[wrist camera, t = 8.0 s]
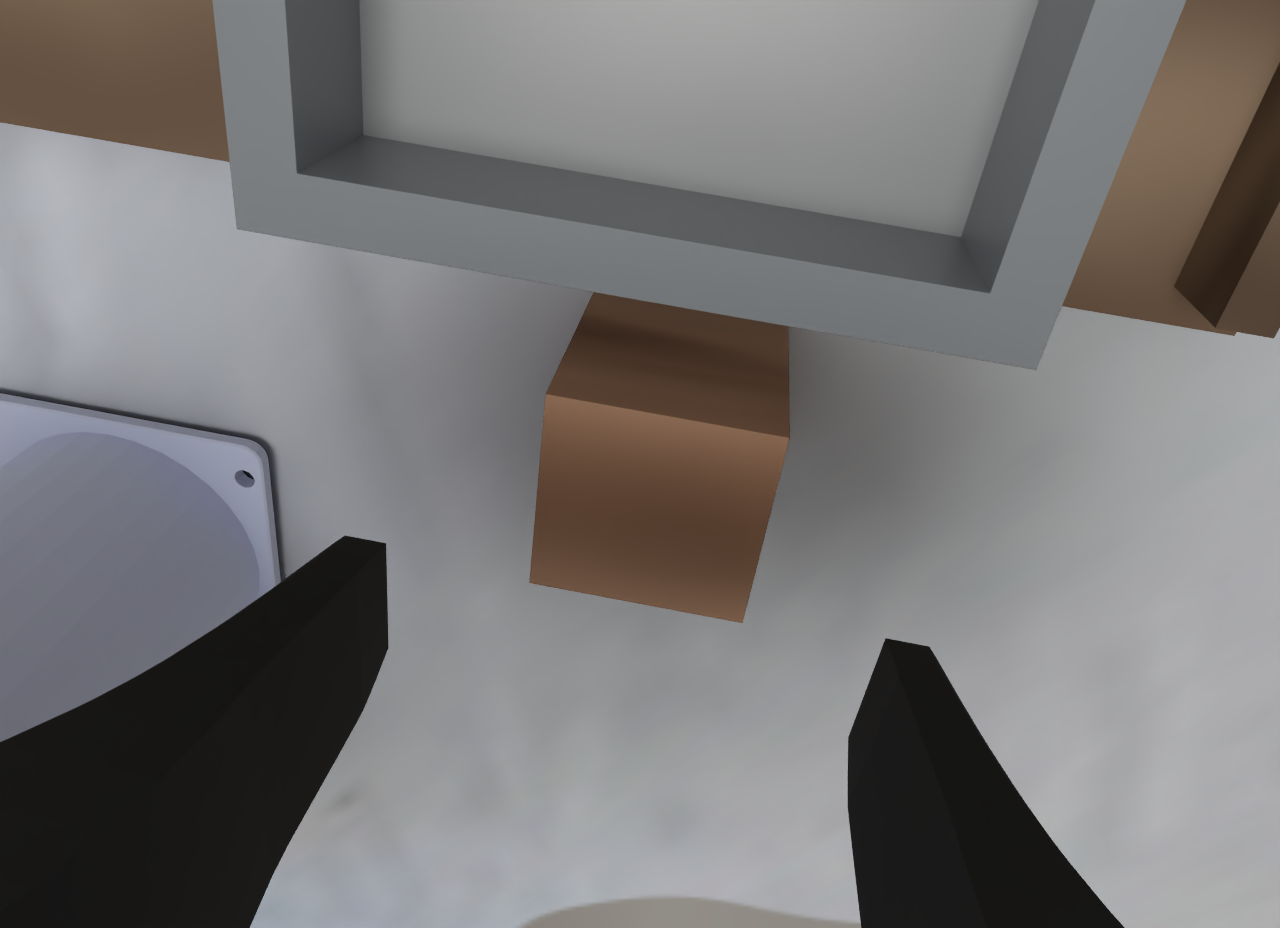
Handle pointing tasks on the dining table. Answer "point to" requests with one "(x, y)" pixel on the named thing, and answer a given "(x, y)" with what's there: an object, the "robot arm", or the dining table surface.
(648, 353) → the part block
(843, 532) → the dining table surface
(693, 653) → the dining table surface
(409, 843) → the dining table surface
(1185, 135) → the board
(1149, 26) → the tray
